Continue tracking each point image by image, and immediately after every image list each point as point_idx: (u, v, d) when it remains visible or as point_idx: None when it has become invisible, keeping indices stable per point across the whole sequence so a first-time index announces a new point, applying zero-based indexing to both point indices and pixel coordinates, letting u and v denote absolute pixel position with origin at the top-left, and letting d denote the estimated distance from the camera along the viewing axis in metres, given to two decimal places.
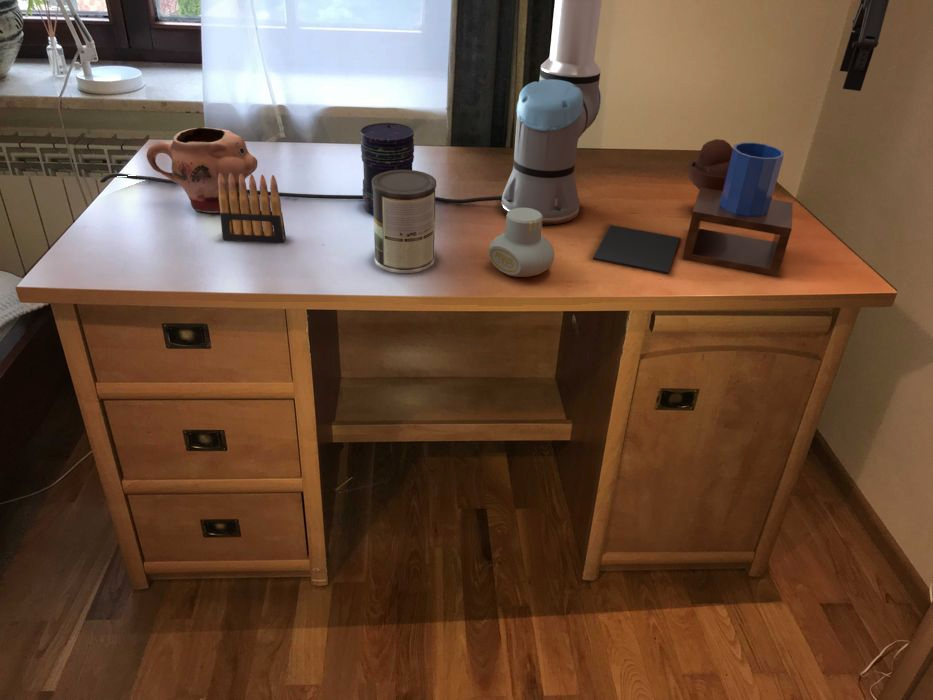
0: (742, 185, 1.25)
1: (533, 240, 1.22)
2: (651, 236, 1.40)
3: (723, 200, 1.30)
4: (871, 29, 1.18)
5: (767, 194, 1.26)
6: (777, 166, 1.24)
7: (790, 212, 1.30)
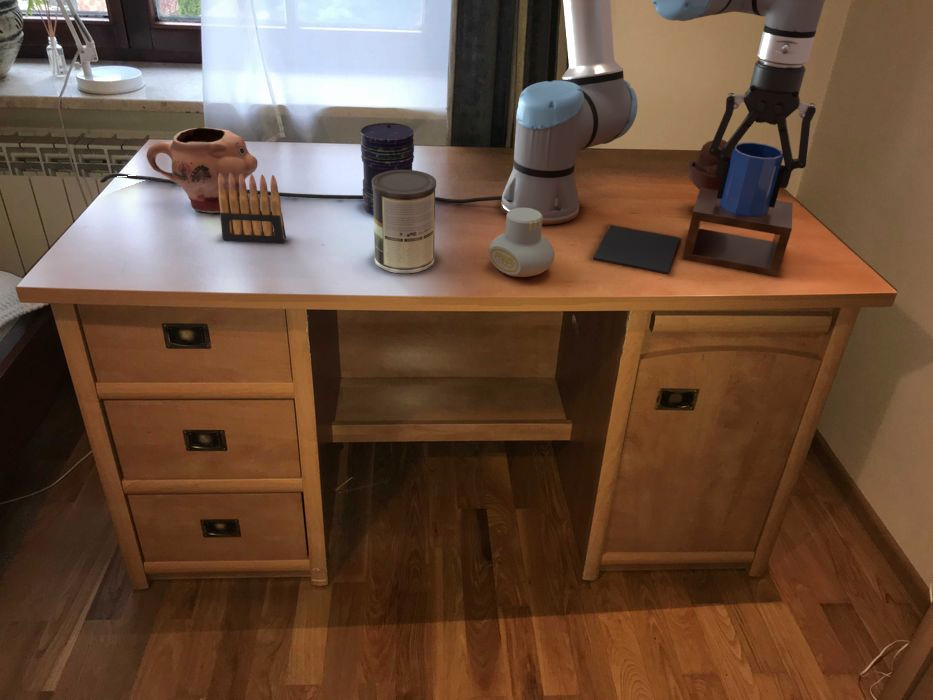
0: (742, 185, 1.25)
1: (533, 240, 1.22)
2: (651, 236, 1.40)
3: (723, 200, 1.30)
4: None
5: (766, 194, 1.26)
6: (777, 166, 1.24)
7: (790, 212, 1.30)
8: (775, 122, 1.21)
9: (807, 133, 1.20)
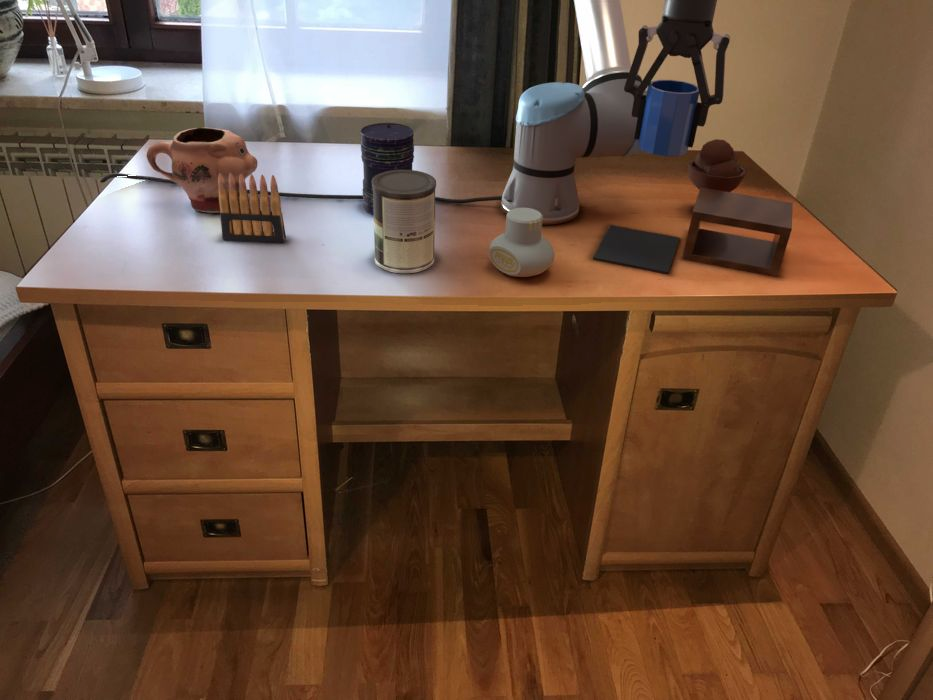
0: (658, 123, 1.20)
1: (533, 240, 1.22)
2: (651, 236, 1.40)
3: (640, 140, 1.25)
4: None
5: (683, 132, 1.21)
6: (693, 102, 1.19)
7: (790, 212, 1.30)
8: (689, 55, 1.16)
9: (722, 66, 1.15)
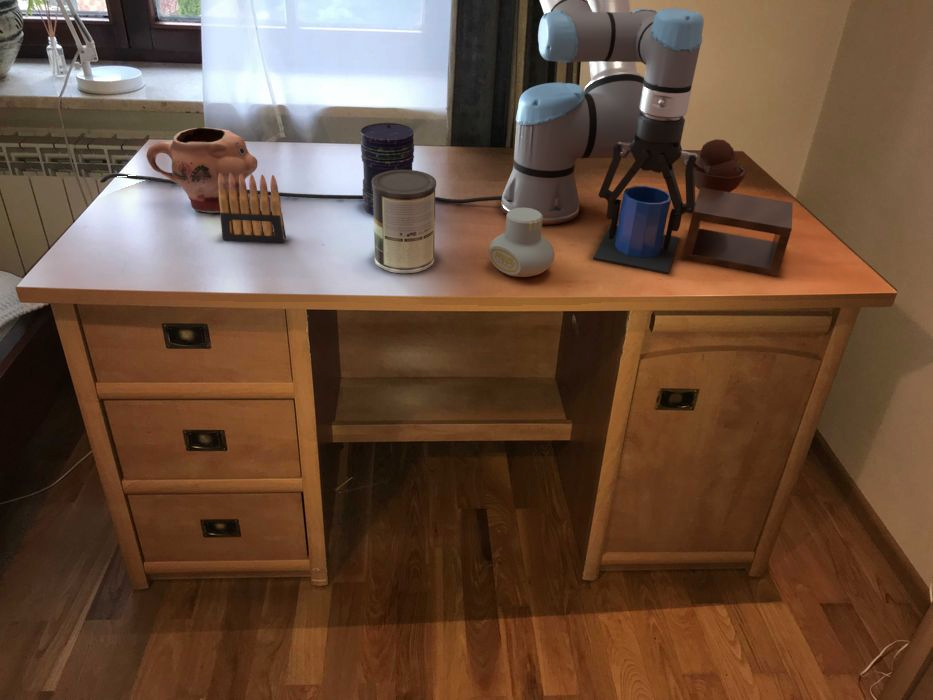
0: (632, 228, 1.30)
1: (533, 240, 1.22)
2: None
3: (617, 241, 1.34)
4: None
5: (656, 237, 1.31)
6: (664, 210, 1.28)
7: (790, 212, 1.30)
8: (660, 170, 1.26)
9: (691, 180, 1.25)
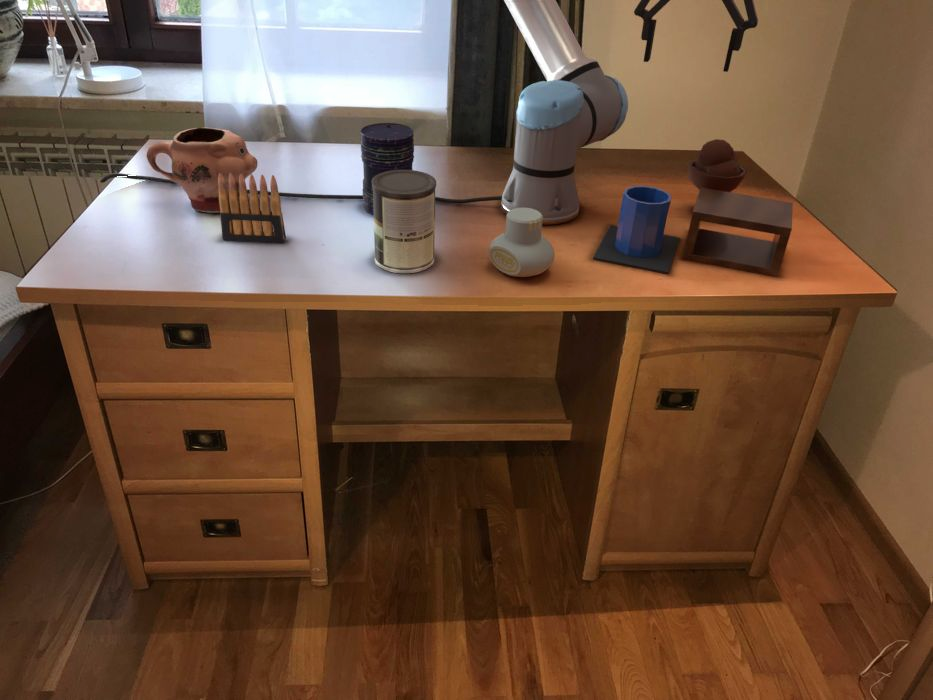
0: (632, 228, 1.30)
1: (533, 240, 1.22)
2: None
3: (617, 241, 1.34)
4: None
5: (656, 237, 1.31)
6: (664, 210, 1.28)
7: (790, 212, 1.30)
8: None
9: None
